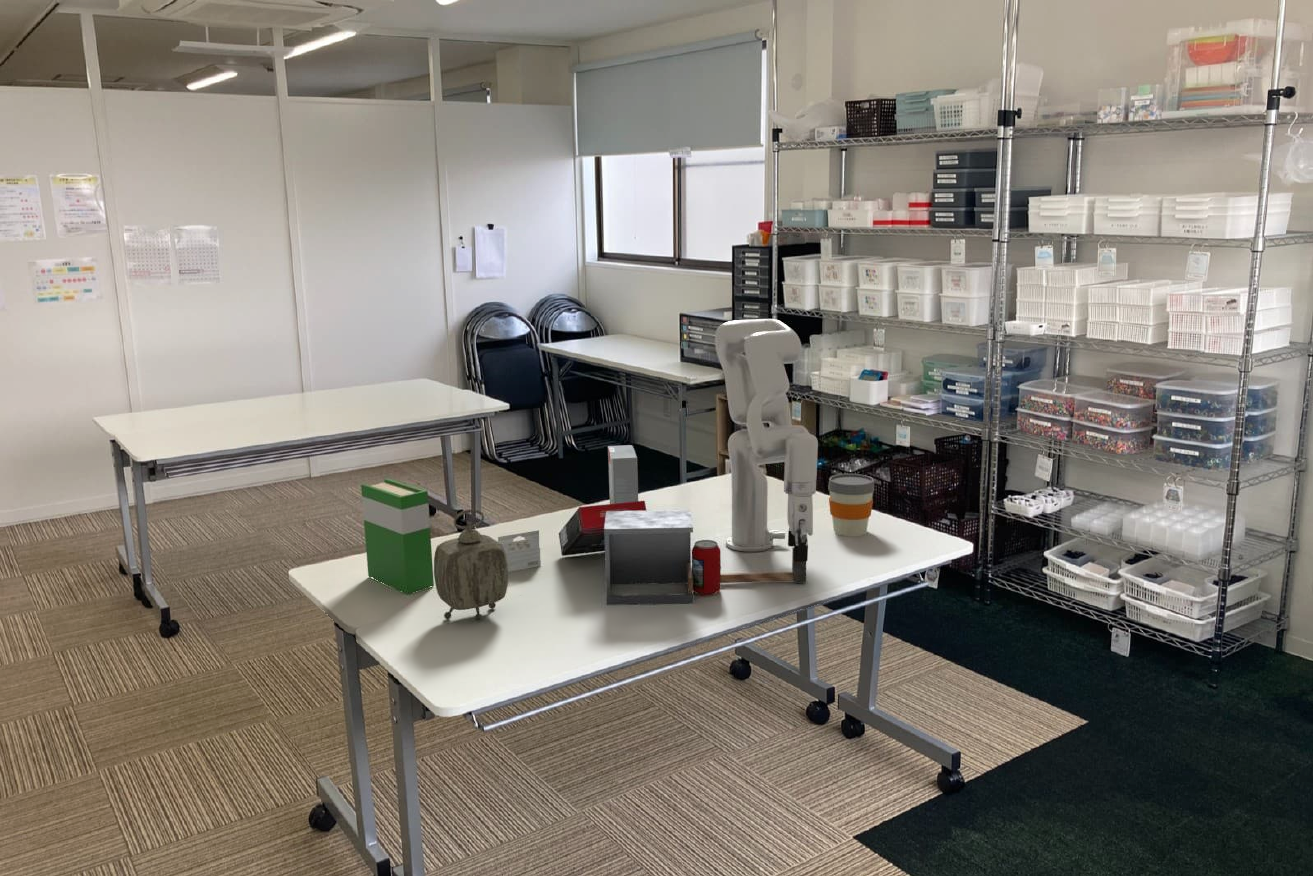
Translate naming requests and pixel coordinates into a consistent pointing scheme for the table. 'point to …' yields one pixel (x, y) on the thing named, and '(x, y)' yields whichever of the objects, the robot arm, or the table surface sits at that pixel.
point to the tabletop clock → (470, 570)
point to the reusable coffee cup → (850, 503)
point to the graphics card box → (590, 527)
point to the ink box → (521, 550)
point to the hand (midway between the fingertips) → (797, 553)
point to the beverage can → (706, 567)
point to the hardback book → (398, 535)
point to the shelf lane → (647, 553)
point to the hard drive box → (622, 474)
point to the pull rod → (758, 575)
